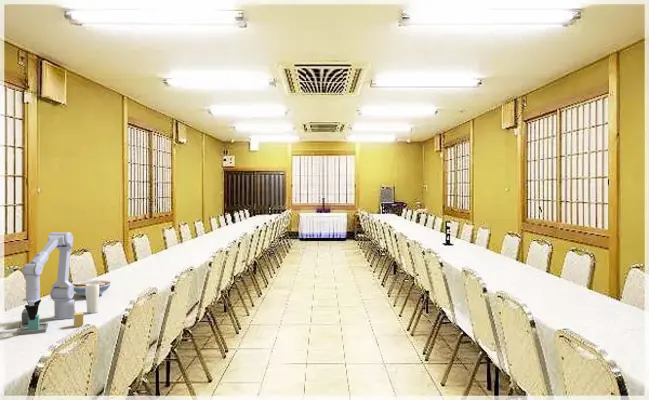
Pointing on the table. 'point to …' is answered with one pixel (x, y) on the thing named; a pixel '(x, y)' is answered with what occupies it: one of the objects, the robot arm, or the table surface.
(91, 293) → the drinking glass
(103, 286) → the ramen bowl
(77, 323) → the ochre block
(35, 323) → the teal block
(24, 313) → the silver unit
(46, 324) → the slate tray
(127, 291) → the table surface
